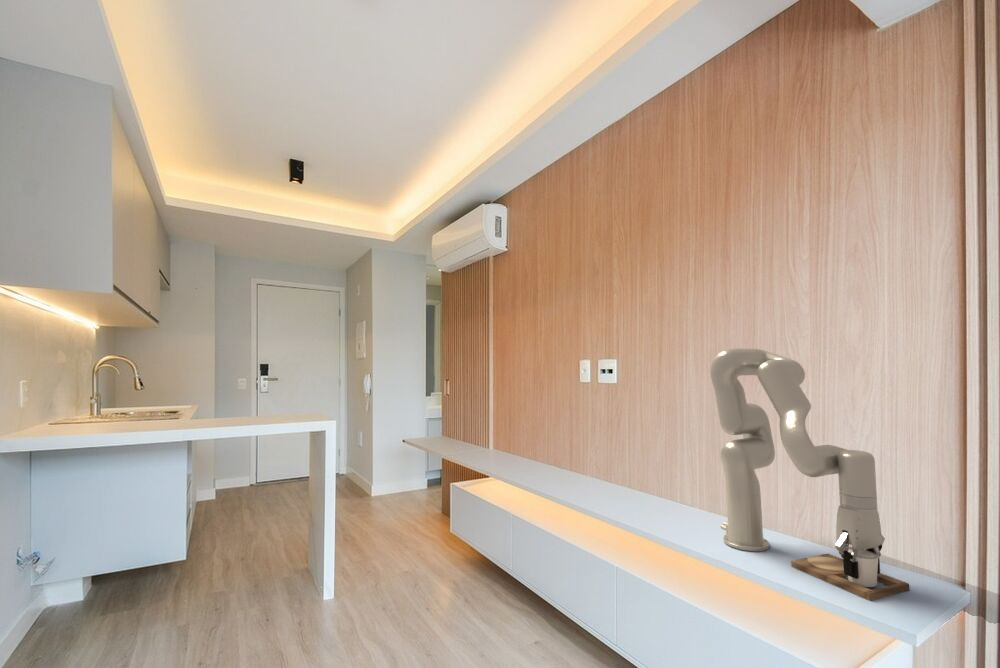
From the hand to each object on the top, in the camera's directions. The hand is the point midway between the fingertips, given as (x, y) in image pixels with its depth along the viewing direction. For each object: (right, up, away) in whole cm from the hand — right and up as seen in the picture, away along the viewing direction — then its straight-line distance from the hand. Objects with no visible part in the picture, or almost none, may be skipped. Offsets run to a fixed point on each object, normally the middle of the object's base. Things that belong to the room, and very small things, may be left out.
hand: (862, 573), depth 117 cm
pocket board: (-1, -3, +4) cm, 5 cm away
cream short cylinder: (0, -2, 0) cm, 2 cm away
